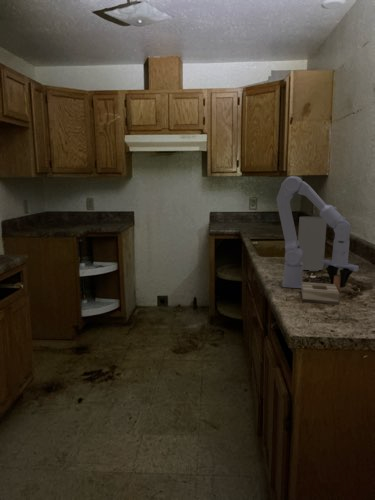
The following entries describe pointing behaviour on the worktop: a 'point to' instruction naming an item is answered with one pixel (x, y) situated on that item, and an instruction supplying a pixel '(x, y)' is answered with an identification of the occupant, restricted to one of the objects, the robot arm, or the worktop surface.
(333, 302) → the socket block
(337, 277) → the peg
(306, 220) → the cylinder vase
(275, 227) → the worktop surface
